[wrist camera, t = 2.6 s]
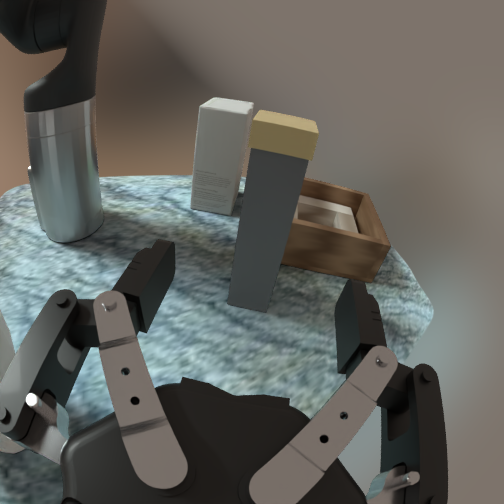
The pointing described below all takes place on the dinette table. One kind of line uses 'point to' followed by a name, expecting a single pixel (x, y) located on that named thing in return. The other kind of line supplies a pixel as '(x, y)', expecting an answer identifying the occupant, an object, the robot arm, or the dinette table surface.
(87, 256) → the dinette table surface
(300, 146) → the grey plug
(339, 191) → the walnut box
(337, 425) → the robot arm
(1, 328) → the cup
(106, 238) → the dinette table surface
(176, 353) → the dinette table surface
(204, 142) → the skincare box
